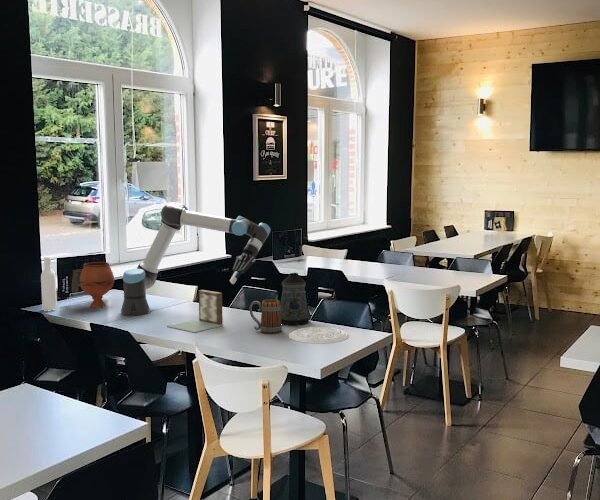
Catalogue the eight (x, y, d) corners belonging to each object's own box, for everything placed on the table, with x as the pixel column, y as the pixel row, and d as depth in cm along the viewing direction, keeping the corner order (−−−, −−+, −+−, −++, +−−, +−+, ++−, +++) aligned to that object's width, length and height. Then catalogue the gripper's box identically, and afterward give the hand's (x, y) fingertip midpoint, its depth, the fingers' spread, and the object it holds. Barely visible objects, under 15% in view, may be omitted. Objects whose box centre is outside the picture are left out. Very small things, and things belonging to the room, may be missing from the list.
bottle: (49, 308, 368) (46, 255, 365) (60, 309, 366) (58, 256, 362) (39, 311, 361) (36, 257, 357) (50, 312, 358) (48, 258, 355)
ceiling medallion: (334, 327, 321) (334, 321, 320) (358, 341, 295) (358, 334, 294) (280, 332, 311) (280, 326, 311) (301, 347, 285) (301, 340, 285)
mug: (283, 329, 316) (283, 298, 314) (280, 334, 305) (280, 303, 304) (251, 328, 317) (251, 298, 316) (247, 333, 307) (247, 302, 305)
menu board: (199, 321, 334) (198, 290, 332) (203, 320, 336) (202, 289, 335) (218, 325, 325) (217, 293, 323) (222, 324, 328) (222, 292, 326)
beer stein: (281, 327, 320) (281, 277, 317) (272, 318, 339) (272, 271, 336) (313, 324, 325) (313, 275, 322) (303, 316, 343) (303, 270, 340)
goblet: (82, 310, 361) (80, 266, 358) (79, 304, 379) (77, 262, 376) (117, 307, 368) (115, 264, 365) (113, 301, 386) (111, 260, 383)
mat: (167, 326, 322) (167, 325, 322) (193, 320, 335) (193, 319, 335) (194, 332, 309) (194, 331, 309) (221, 326, 323) (221, 325, 323)
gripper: (264, 253, 350) (244, 288, 339) (247, 251, 358) (226, 285, 347) (258, 244, 345) (237, 279, 334) (240, 242, 353) (219, 277, 342)
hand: (231, 282), depth 341 cm, fingers closed
